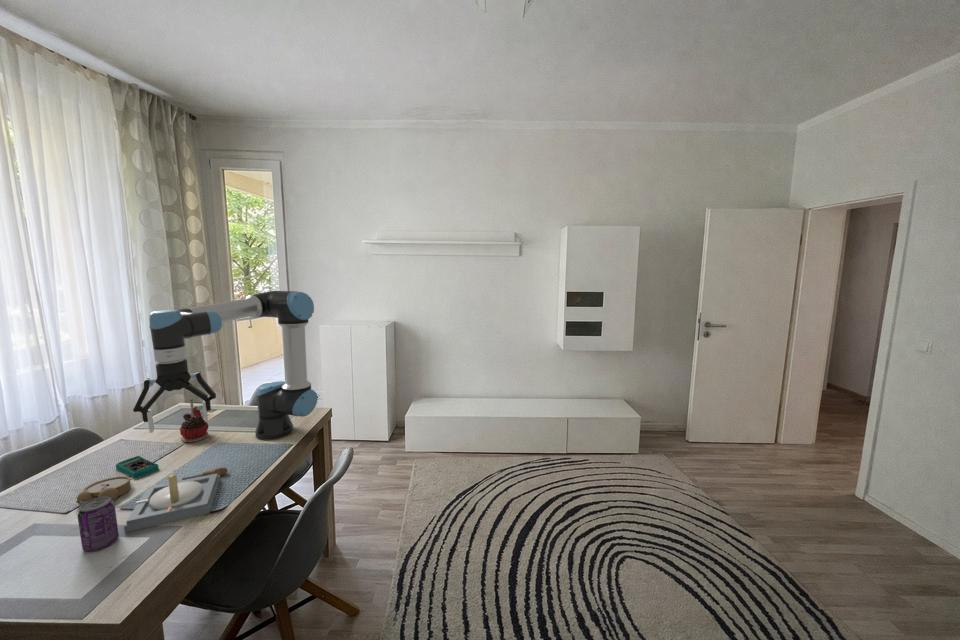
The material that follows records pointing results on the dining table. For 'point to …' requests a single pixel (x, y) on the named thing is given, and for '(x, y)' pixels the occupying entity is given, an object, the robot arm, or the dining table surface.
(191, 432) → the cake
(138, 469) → the digital multimeter
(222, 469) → the screwdriver
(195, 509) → the panel
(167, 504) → the dial
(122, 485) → the alarm clock
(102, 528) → the beverage can
